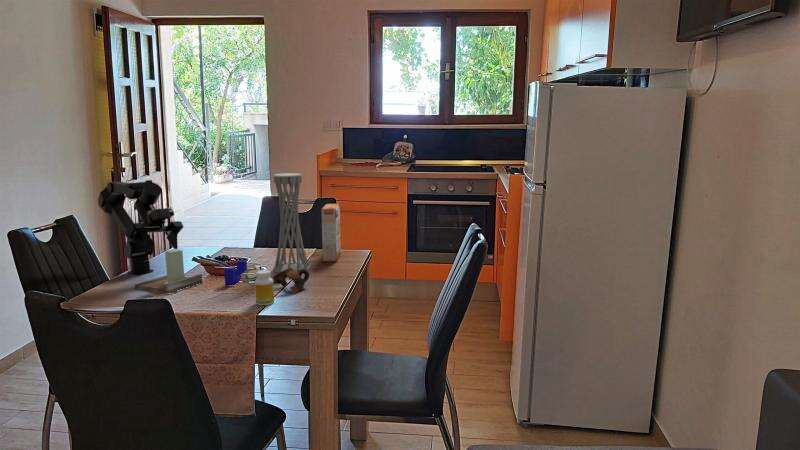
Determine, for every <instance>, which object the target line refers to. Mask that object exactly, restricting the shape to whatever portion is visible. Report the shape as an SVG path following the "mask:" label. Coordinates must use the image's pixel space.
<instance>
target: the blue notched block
mask: <svg viewBox="0 0 800 450" xmlns="http://www.w3.org/2000/svg"><path fill="white" fill-rule="evenodd" d="M247 261H248V260H240V259H239V260H237V261H236V267H225V268H224V269H223V271H224V273H223V274H224V286H225V285H235V284H236V283H238V282H239V281H240V279H241V277H242V276H241V275H240V274H242V273H244V272H245V271H246V270H247V271H248V262H247ZM239 283H240V282H239ZM239 283H238V284H239ZM236 285H237V284H236ZM236 285H235V286H236Z"/></svg>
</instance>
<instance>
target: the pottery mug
mask: <svg viewBox="0 0 800 450" xmlns="http://www.w3.org/2000/svg"><path fill="white" fill-rule="evenodd" d="M303 274H304V277H303V278H302V275H303ZM271 278H272V279H273V286H274V285H275V286H276V285H281V286H282V287H286V286H288V282H287V281H286V279H287V278H288V279H289V280H292V282H293V283H294V284H293V285H291V286H290V287H289V290H290V291H291V294H296V293H298V292H299V291H303V290H305V288H304V287H305V283H306V282H307V281H308V280H309V278H310V272H309V271H307V270H306V269H301V270H299V271H295V270H293V268H292V267H291V268H288V269H286V270H284V271H282V272H280V273H275V274H274V275H273V276H272V277H271Z"/></svg>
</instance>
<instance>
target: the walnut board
mask: <svg viewBox="0 0 800 450" xmlns="http://www.w3.org/2000/svg"><path fill="white" fill-rule="evenodd" d="M184 278H185V279H181V280H178V281H175V282H171V283H168V281H167V274H166V275H163V276H160V277H157V278H156V277H155V278H152V279H150V280H146V281H142V282H139V283H135V284H134V288H135V289H136V290H143V291H148V292H156V293H161V294H165V293H171V294H173V293H172V292H174V293H176V292H175V291H177V290H180V289H183V288H186V287H189V286H193V285H196V284H199V283H202V284H203V274H202V273H198V274H194V275H192V276H188V277H185V276H184ZM199 285H200V284H199ZM196 286H197V285H196ZM193 287H194V286H193Z"/></svg>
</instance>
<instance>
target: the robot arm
mask: <svg viewBox="0 0 800 450" xmlns="http://www.w3.org/2000/svg"><path fill="white" fill-rule="evenodd" d="M162 192H163V189H162V187H161V186H160V185H159V184H158V183H156V182H153V180H152V179H148V180H145V181H139V182H123V181H120V180H118V181H109V182H108V183H107V184H106V187H105V188H104V189H102V190H101V191H100V192H99V194H98V195H99V196H98V198H97V205H98V207H99V208H100V209H101V210H102V211H103V212H104V213H105V214H108V215H111V216H112V218H113V220H114V221H115V222H116V224H117V225H118V227H119V228H120V230H121V231H122V233H123V234H124V236H125V238H126V244H125V247H124V249H123V255H124V257H125V258H127V259H129V263H130V264H129V266H130V270H129V271H126V273H127V274H131V275H138V276H139V275H140V276H141V275H143V274H147V273H152V272H153V271H154V269H151V265H150V260H149V256H152V255H154V248H155V247H154V246H155V243H154V240H153V238H152V237H151V235H150V233H163V232H164V234H165V235H166V239H167V241H168V242H169V244H170V245H171V247H172V248H173V249H178V234H179V233H180V232H181V231H182V230H183V228H184V225H183V223H182V221H178V220H177V221H176V220H175V221H170V222H169V223H168V224H167V225H163V224H166V222H167V221H166V220H169V219H171V218H172V217H174V216H175V212H174V211H175V210H174V209H173V207H172V206H171V207H170V206H166V207H165V208H156V206H155V204H156V203H157V202H158V200H159V198H160V196H161V194H162ZM126 199H128V200H135V201H134V206H133V210H134V211H137V213H138V216H139V219H138V222H134V221H133V219H132V218H131V216H130V215H129V214H128V212H127V210H126V209H125V208H124V206H125V202H126Z"/></svg>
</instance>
